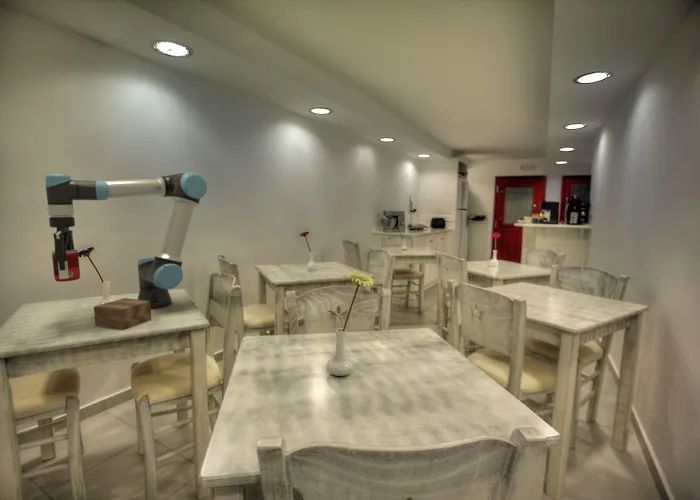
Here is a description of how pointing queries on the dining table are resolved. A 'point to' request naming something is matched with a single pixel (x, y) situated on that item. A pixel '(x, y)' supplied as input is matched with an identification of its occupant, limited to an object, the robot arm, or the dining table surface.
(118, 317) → the walnut block
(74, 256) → the canned food
